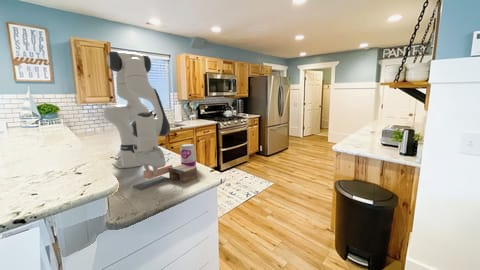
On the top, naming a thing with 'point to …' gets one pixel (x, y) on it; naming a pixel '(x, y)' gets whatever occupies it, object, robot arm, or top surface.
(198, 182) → the top surface
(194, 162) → the supplement can
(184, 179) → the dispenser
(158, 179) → the mat
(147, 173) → the pink rectangular block
